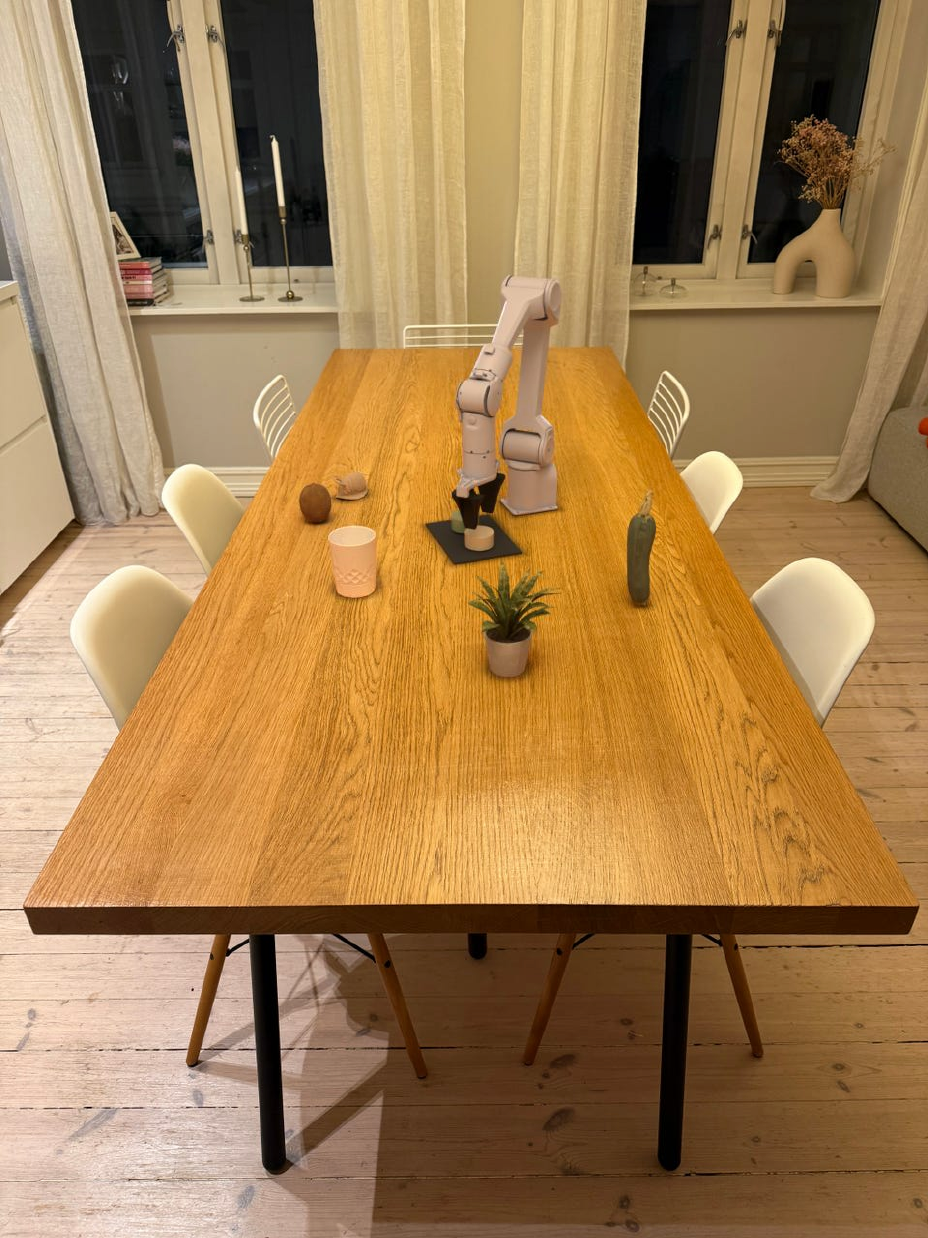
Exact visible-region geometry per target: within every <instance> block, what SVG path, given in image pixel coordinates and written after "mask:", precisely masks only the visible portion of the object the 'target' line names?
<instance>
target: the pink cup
mask: <svg viewBox="0 0 928 1238" xmlns="http://www.w3.org/2000/svg"><path fill="white" fill-rule="evenodd" d="M327 539H328V540H327V541H328V546H329V547H328V548H329V555H330V562H331V568H332V573H333V577H334V584H335V590H336V592H337V594H339V595H340V596H342V597H345V598H350V599H355V598H357V599H358V598H363V597H366V596H369V595H371V594H373V593H374V592H375V590H376V588H377V532H376V531H375V530H374V529H372V528H370V527H368V526H362V525H348V526H342V527H339V528H335V529H334V530H332V531H330V532H329V533H328V536H327Z"/></svg>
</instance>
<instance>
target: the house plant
mask: <svg viewBox="0 0 928 1238" xmlns="http://www.w3.org/2000/svg"><path fill="white" fill-rule="evenodd" d="M505 564H506V563H505V562H504V560H501V561H500V564H499V567H498V569H499V570H498V584H497V588H496V587H495V586H492V585H490V584H489V583H488V582H487V581H486V580H485V579H483V578H482V577H481V576H479V575H478V574H475V577H476V579H477V580H479V582H480V583H481V585H482V588H483V589H484V590H485V591H483V589H479V588H477V590H478V591H480V592H481V593H482V594H483V595H485V597H487V598H485V597H483V596H481V595H480V594H479V593H477V592H474V591H472V592H471V593H472V594H474V595H475V596H477V597H478V598H476V599H475V600H470V601H468V602H467V604H468V605H469V606H471V607H473V608H475V609H477V610H479V611H481V612H484V613H485V614H486V615H488V617H490V619H491V620H492V621H491V620H483V621H482V623H481V631H480V634H481V635H482V634H483V635H484V636H483V637H484V640H485V646H486V651H487V659H488V663H489V668H490V671H491V673H492V674H494V675H495V676H498V677H500V678H514V677H518V676H520V675H522V674H523V673H524V672H525V670H526V667H527V661H528V656H529V651H530V647H531V642H532V638H533V634H534V632H535V634H536V636H538V626H537V624H536V623H535V622H534V621H532V620H531V619H534V618H537V617H542V616H547V615H549V616H550V615H551V616H553V614H552V613H551V612H549V611H548V610H547V609H556V606H551V605H550V606H549V605H547V604H546V603H544V602H541V601H537V600H538V599H540V598H542V597H545V596H551V595H560V594H562V592H551V591H558V590H562V589H563V587H549V588H544V589H541V590H539V591H537V592H535V593H533V594H529V593H530V592H531V591H532V590H533V588H534V587H535V585H536V583H537V581H538V579H539V578H540V577H541V576H542V575H543V573H544V572H545V571H546V569H544V570H540V571H538V572H536V573H535V574H534V575H532V576H531V577H530V578H529V579H528V577H529V576H530V574H531V569H532V566H531V567H530V568H529V569H528V570H527V571H526V573H524V575H523V576H522V578H521V579H520V580H519V581H518V583H517V584H516V586H515V588H513V589H512V590H511V587H510V586H511V585H510V576H509V574H508V572H507V568H506V565H505ZM527 579H528V580H527ZM493 589H494V590H495V591H496V593H497V596H496V594H495V592H494V590H493ZM485 592H486V593H487V594H486V593H485ZM528 594H529V595H528ZM481 601H482V602H481ZM527 603H528V604H527ZM525 605H526V606H525ZM539 607H541V608H539ZM534 608H539V609H535V610H533V611H531V612H529V611H530V610H532V609H534ZM528 612H529V613H528ZM526 613H527V614H526ZM525 614H526V615H525Z"/></svg>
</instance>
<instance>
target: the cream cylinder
mask: <svg viewBox="0 0 928 1238" xmlns="http://www.w3.org/2000/svg"><path fill="white" fill-rule="evenodd" d="M464 539H465V547H466V548H468V549H470V550H474V551H484V550H488V549H491V548H492V547H493V546H494V530H493V529H492V528H490V527H487V526H477V528H476V529H475V530H472V529H466V530H465V531H464Z"/></svg>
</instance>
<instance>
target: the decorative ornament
mask: <svg viewBox="0 0 928 1238" xmlns="http://www.w3.org/2000/svg"><path fill="white" fill-rule="evenodd" d="M333 481H334V482H335V483H336V484H337V485H338V487H337V494H336V496H335V497H334V498H335V499H342V500H347V501H348V500H349V501H350V500H351V501H355V500H356V501H358V500H360V499H363V498H364V497H365V496H366V495H367V494H368V492H369V490H368V488H367V487H368V485H367V479H366V477H365V476H364V474H363V473H361V472H359V471H354V472H353V471H352V472H350V473H348V474H346V475H344V477H342V478H340V477H337V476H335V477H333Z"/></svg>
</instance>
